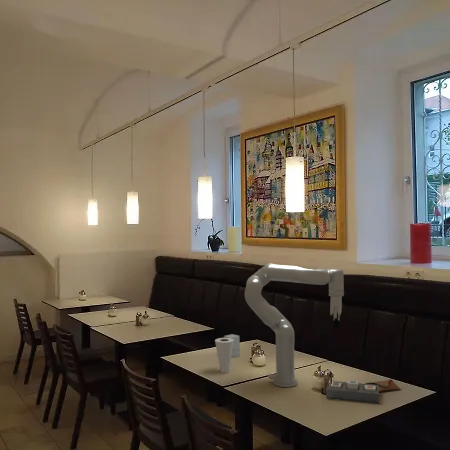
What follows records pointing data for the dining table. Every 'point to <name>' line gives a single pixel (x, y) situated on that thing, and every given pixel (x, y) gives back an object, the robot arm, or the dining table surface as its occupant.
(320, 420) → the dining table surface
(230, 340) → the cup
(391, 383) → the sunglasses case
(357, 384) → the key mid
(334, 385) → the key left
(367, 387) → the key right
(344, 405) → the dining table surface
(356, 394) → the block
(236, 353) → the supplement box
